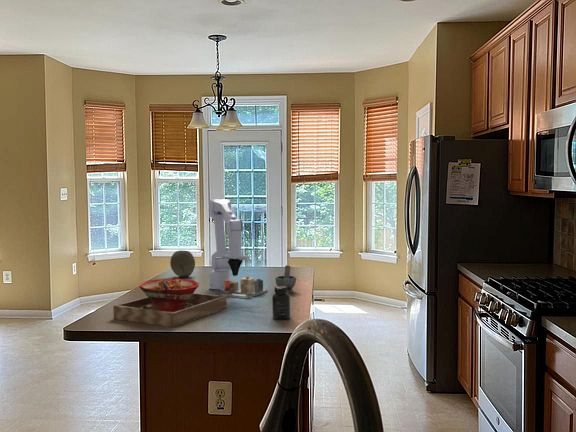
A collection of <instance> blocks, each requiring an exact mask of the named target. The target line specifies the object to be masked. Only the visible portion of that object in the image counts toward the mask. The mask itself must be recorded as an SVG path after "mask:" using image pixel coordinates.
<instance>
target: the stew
mask: <svg viewBox="0 0 576 432" xmlns="http://www.w3.org/2000/svg"><path fill="white" fill-rule="evenodd" d="M199 286H200V283H199V281H197V280H193V279H190V278H189V279H185V278H184V279H183V278H164V277H163V278H159V279H152V280H151V279H150V280H146V281H144V282H141V283H140V284H139V288H140V290H141V291H143V293H144V294H145V296H146V297H149V298H150V299H151V301H152V303H150V304H146V305H143V306H142V307H139V308H142V309H150V310H158V311H166V312H176V311H179V310H182V309H185V308H188V307H187V306H189V305H190V307H192V306H195V305H192V304H190V303H186V302H187V301H188V300H189V299H190V297H191V296H192V294H193V293H195V291H196V290H197V289H198V288H199Z"/></svg>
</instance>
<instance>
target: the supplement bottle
mask: <svg viewBox="0 0 576 432" xmlns="http://www.w3.org/2000/svg"><path fill="white" fill-rule="evenodd" d="M287 292H288V290H287V287H286V286H277V285H276V286H275V287H274V294H272V297H271V298H272V299H271V301H272V302H271V303H272V305H271V306H272V307H271V308H272V309H271V311H272V318H273V319H274V320H278V321H286V320H289V319H290V318H291V296H290V294H289V293H287Z"/></svg>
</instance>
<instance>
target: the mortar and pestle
mask: <svg viewBox="0 0 576 432" xmlns="http://www.w3.org/2000/svg"><path fill="white" fill-rule="evenodd" d="M296 283H297V277H296V276H294V275H291V266H290V265H285V266H284V274H283V275H279V276H276V277H275V284H276V286H286V287H287V290H288V292H287V293H288V294H289V293H293V288H294V287H295V285H296Z"/></svg>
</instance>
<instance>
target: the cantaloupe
mask: <svg viewBox="0 0 576 432" xmlns="http://www.w3.org/2000/svg"><path fill="white" fill-rule="evenodd" d="M194 257H195V256H194V255H193V254H192V253H191V251H189V250H176V251H175V252H174V253H173V254H172V255H171V257H170V263H169V264H170V268H171V270H172V272H173V273H174V274H175V275H176V276H178V277H180V278H188V277H190V276H191V275H192V274H193V272H194V270H195V267H196V260H195V258H194Z"/></svg>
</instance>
